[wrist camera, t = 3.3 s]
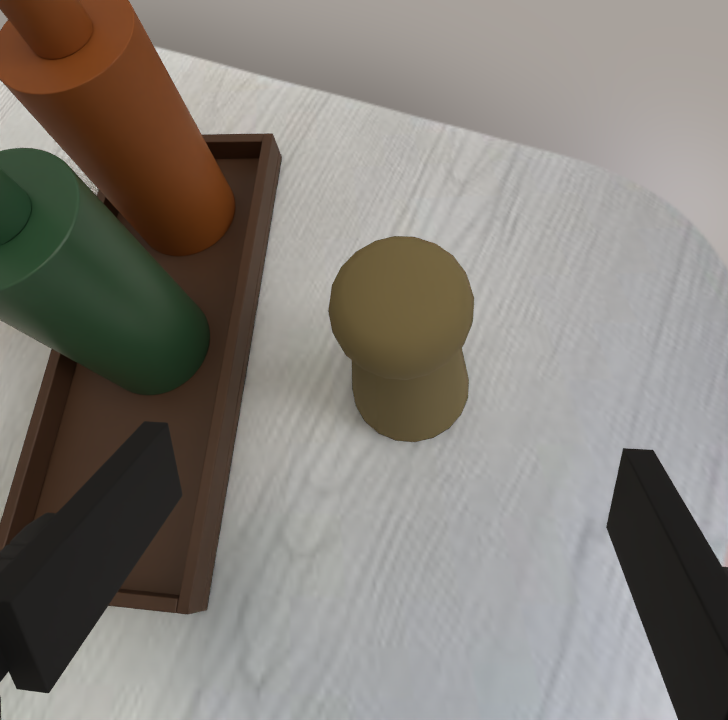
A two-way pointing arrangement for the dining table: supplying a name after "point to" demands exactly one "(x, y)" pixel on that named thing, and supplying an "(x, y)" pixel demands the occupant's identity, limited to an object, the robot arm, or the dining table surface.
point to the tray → (165, 398)
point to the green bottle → (90, 281)
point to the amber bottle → (117, 116)
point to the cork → (404, 335)
